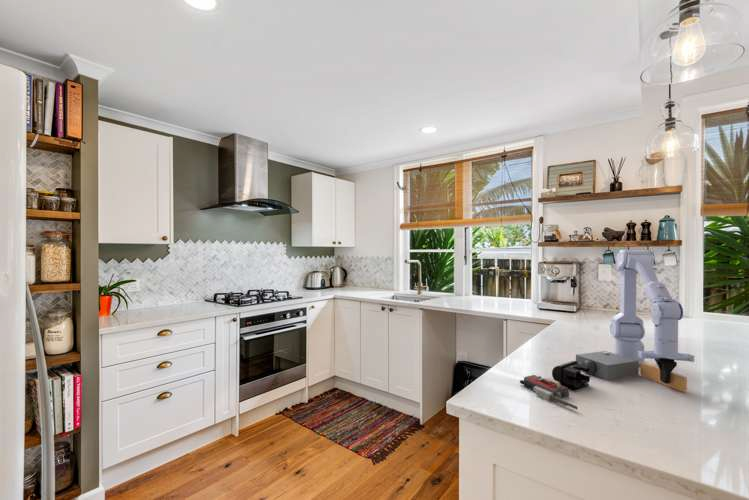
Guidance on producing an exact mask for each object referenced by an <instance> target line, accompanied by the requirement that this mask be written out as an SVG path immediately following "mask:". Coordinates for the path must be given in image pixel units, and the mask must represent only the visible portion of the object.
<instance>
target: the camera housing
mask: <svg viewBox="0 0 749 500" xmlns="http://www.w3.org/2000/svg"><path fill="white" fill-rule="evenodd" d="M575 361H578V364H580V365H584V366H587V367H590V372H586V371H583V372H584V373H585V374H586V375H587V374H588V375H592V376H595V377H598V378H601V379H603V380H606V381H612V380H617V379H623V378H629V377H636V376H639V374H640V373H639V372H640V369H639V368H640V367H639V366H640V365H639V361H638V360H634V359H631V358H628V357H624V356H621V355H617V354H615V352H610V351H606V350H604V351H603V350H602V351H595V352H594V351H593V352H587V353H585V352H584V353H579V354H577V353H576V354H575Z"/></svg>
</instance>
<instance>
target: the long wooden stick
mask: <svg viewBox="0 0 749 500" xmlns="http://www.w3.org/2000/svg"><path fill="white" fill-rule="evenodd" d="M644 362H645V361H644ZM644 362H641V365H640V376H641V377H643V378H646V379H648V380H651V381H654V382H656V383H659V384H661V385H663V386H667V387H670V388H671V389H672V388H673V389H675V390H677V391H681V392H683V393H687V392H688V391H687V389H688V387H687V386H688V385H687V384H688V378H687V376H684V375H681V374H679V373H675V372H673V371H672V372H671V374H670V384H667V383H663V382H662V381H661V380H660V369H659V366H655V365H652V364H649V363H648V362H647V363H644Z"/></svg>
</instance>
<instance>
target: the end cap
mask: <svg viewBox="0 0 749 500" xmlns="http://www.w3.org/2000/svg"><path fill="white" fill-rule="evenodd" d="M581 371H582V372H584V371H586V372H590V367H587V366H584V365H580V364H578V361H576V360H571V361H568V362H564V363H561V364H558V365H556V366H554V367H553V368H552V371H551V375H552V379H553V380H556V381H558V382H560V383H561V385H562V386H564V387H567V388H568V391H572V392H578V391H580V390H582V389H584V388H587V387H590V384H589V383H590V379H591V377H590V375H587V374H584V373H582V372H581ZM586 372H585V373H586Z"/></svg>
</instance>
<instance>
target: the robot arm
mask: <svg viewBox="0 0 749 500" xmlns="http://www.w3.org/2000/svg"><path fill="white" fill-rule="evenodd" d="M654 264H655V255H654V253H653V251H652V250H650V249H646V250H645V249H644V250H643V249H620V250H619V252H618V253H617V254H616V270H617V271H619V272H620V289H619V290H620V292H619V293H620V294H619V295H620V298H619V299H620V300H619V305H620V306H619V313H617V314H616V315H613V316H612V317H611V320H610V325H609V332H610V334H611V336H612V337H613V338H614V339H615V343H614V344H615V345H614V347H615V348H614V349H615V350H614V354H617V355H621V356H624V357H628V358H631V359H634V360H638V361H639V366H641V362H644V363H647V364H648V362H646V361H645V360H646V359H650V360H654V361H655V362H656V365H657V367H658V368H659V369H660V380H661V381H662V382H663V383H667V384H670V374H671V372H673V370H674V369H675V368H676V367H677V366H678V362H676V361H683V362H691V363H692V362H693V363H695V355H693V354H691V353H682V352H679V321H680V320H682V319H683V317H684V307H683V306H682V303H681V302H680V301H677V299H675V298H672V297H673V296H672V295H671V294H670V292H669V290H668V288H667V286H666V284H664V283H663V282H660V281H659V278H658V276H657V274H656V271H655V268H654ZM638 274H639V276H640V277H641V279H642V280H643V282H644V284H645V287H644V292H645V294H646V296H647V299H648V300H649V302H650V304H651V307H650V315H651V318H652V323H653V324H654V333H653V334H654V337H653V338H654V340H653V341H654V342H653V345H654V346H653V347H654V348H653V350H645V344H644V342H643V341H641V339H643V338H644V337H645V333H646V332H645V331H646V330H645V326H644V321H643V319H642V318H640V317H639V316H638V315H637V275H638Z"/></svg>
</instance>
